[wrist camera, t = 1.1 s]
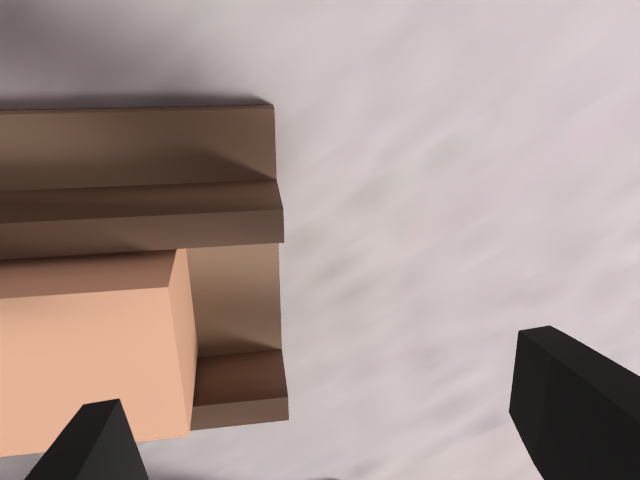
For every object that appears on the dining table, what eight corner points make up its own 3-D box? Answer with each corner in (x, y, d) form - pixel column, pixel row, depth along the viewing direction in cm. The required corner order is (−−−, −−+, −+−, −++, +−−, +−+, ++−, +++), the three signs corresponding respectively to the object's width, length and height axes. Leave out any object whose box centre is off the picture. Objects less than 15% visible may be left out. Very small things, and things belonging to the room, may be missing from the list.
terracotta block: (197, 350, 18) (189, 436, 15) (19, 365, 17) (-37, 460, 14) (182, 222, 16) (168, 287, 12) (-23, 233, 15) (-102, 305, 12)
